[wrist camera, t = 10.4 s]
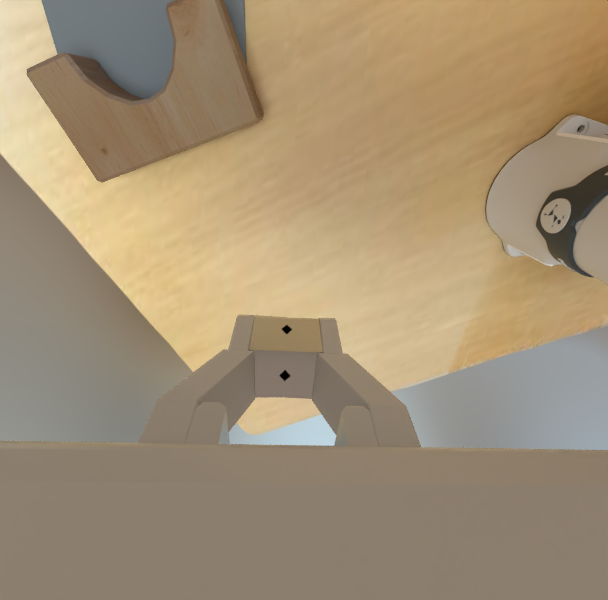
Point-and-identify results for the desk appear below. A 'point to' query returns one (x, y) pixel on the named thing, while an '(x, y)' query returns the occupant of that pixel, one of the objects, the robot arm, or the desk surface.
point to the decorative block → (154, 96)
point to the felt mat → (125, 38)
